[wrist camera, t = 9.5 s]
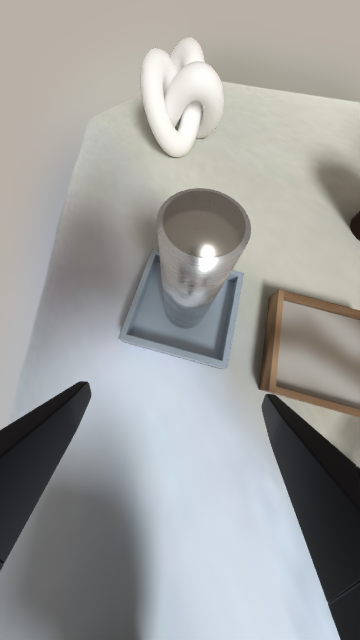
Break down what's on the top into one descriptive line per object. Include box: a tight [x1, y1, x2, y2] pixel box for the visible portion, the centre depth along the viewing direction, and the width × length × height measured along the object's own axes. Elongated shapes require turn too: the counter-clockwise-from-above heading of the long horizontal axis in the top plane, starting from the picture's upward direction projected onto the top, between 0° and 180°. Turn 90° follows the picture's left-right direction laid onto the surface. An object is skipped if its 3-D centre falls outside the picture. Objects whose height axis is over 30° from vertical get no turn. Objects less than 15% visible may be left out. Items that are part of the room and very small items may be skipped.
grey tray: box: [118, 249, 244, 369], centre depth 20 cm, size 11×11×2 cm
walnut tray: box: [259, 290, 360, 417], centre depth 19 cm, size 11×11×2 cm
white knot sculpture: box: [140, 37, 224, 157], centre depth 26 cm, size 11×12×9 cm
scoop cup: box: [157, 188, 251, 328], centre depth 15 cm, size 5×5×12 cm
